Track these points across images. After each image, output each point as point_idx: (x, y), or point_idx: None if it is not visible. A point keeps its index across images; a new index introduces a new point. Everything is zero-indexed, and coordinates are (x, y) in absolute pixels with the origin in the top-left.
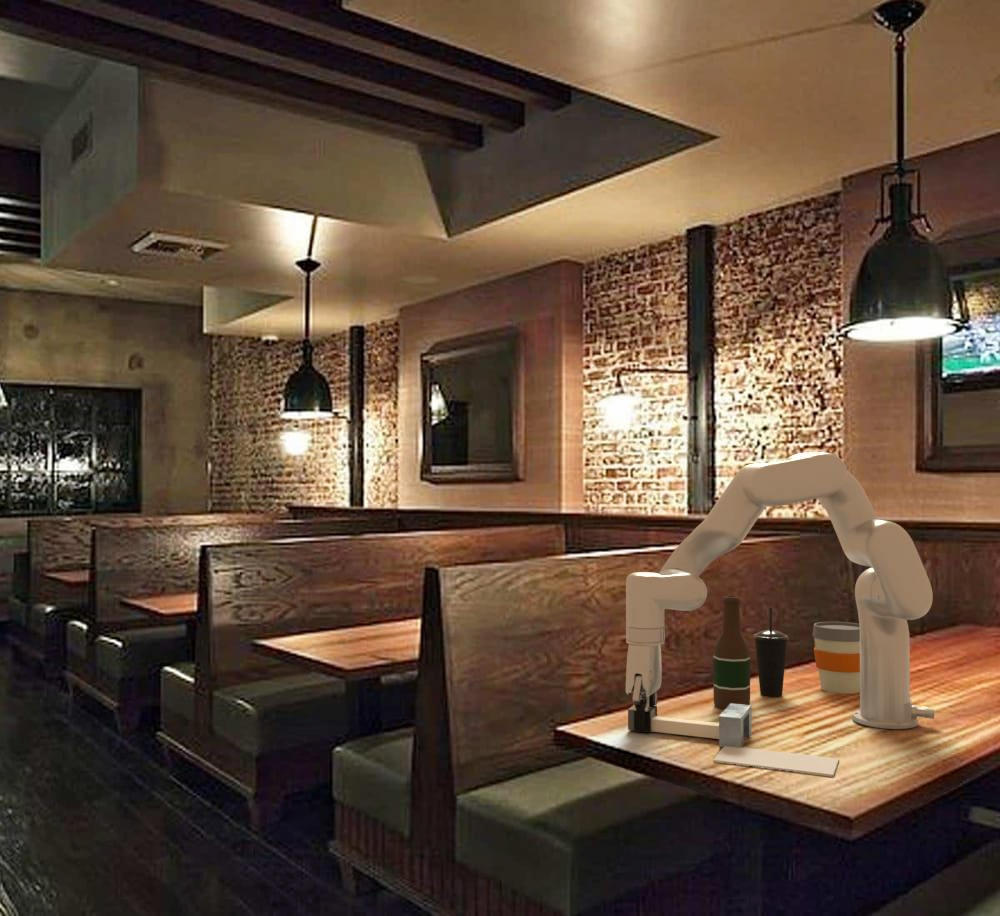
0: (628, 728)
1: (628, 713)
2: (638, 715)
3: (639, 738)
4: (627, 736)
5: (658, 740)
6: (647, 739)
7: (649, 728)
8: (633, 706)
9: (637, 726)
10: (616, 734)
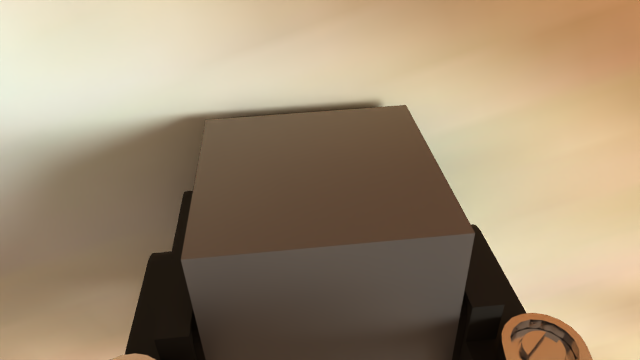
0: (207, 129)
1: (188, 228)
2: (132, 351)
3: (73, 250)
4: (57, 159)
5: (119, 349)
6: (91, 297)
7: None
8: (381, 259)
9: (154, 254)
10: (43, 47)
